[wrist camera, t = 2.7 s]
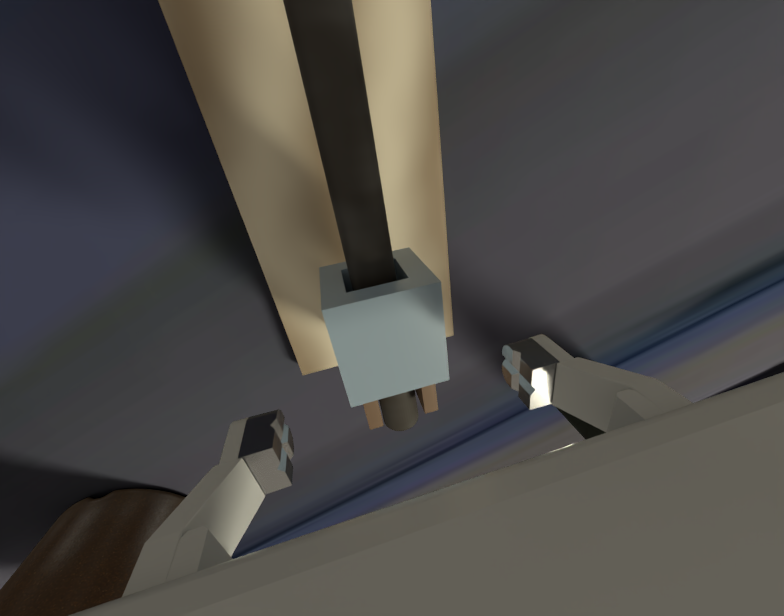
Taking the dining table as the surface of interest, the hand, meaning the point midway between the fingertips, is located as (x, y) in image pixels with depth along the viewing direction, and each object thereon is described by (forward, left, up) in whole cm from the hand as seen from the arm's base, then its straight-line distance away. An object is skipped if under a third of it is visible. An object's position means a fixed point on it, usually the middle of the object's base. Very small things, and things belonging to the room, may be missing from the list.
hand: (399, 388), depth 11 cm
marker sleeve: (0, 0, -7) cm, 7 cm away
